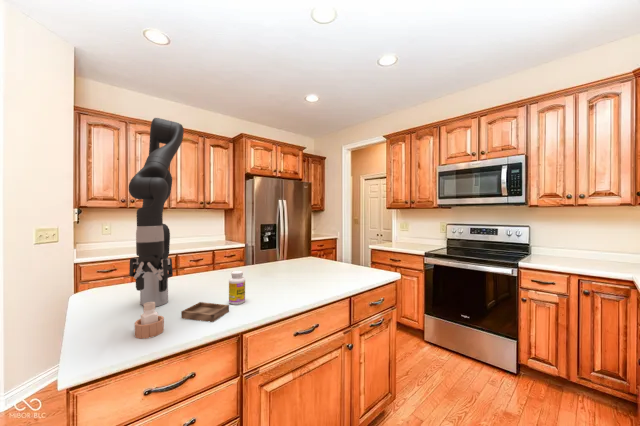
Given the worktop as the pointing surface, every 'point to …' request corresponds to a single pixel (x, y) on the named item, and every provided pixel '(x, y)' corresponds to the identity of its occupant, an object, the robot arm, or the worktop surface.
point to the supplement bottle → (236, 288)
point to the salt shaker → (149, 314)
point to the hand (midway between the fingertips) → (151, 290)
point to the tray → (205, 311)
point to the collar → (149, 328)
